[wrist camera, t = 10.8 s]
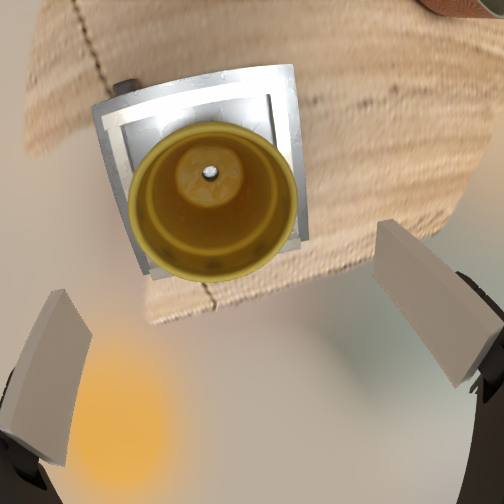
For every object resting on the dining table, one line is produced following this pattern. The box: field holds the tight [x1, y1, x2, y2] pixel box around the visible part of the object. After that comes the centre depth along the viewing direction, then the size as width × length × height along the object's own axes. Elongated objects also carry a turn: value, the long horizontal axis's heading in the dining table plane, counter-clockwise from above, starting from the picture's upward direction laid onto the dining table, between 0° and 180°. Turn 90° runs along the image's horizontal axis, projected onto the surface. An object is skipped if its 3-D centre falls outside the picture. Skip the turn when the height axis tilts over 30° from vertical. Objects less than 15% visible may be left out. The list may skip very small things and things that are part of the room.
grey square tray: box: [91, 64, 309, 280], centre depth 25 cm, size 19×18×8 cm
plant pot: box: [127, 121, 298, 283], centre depth 21 cm, size 10×10×10 cm
